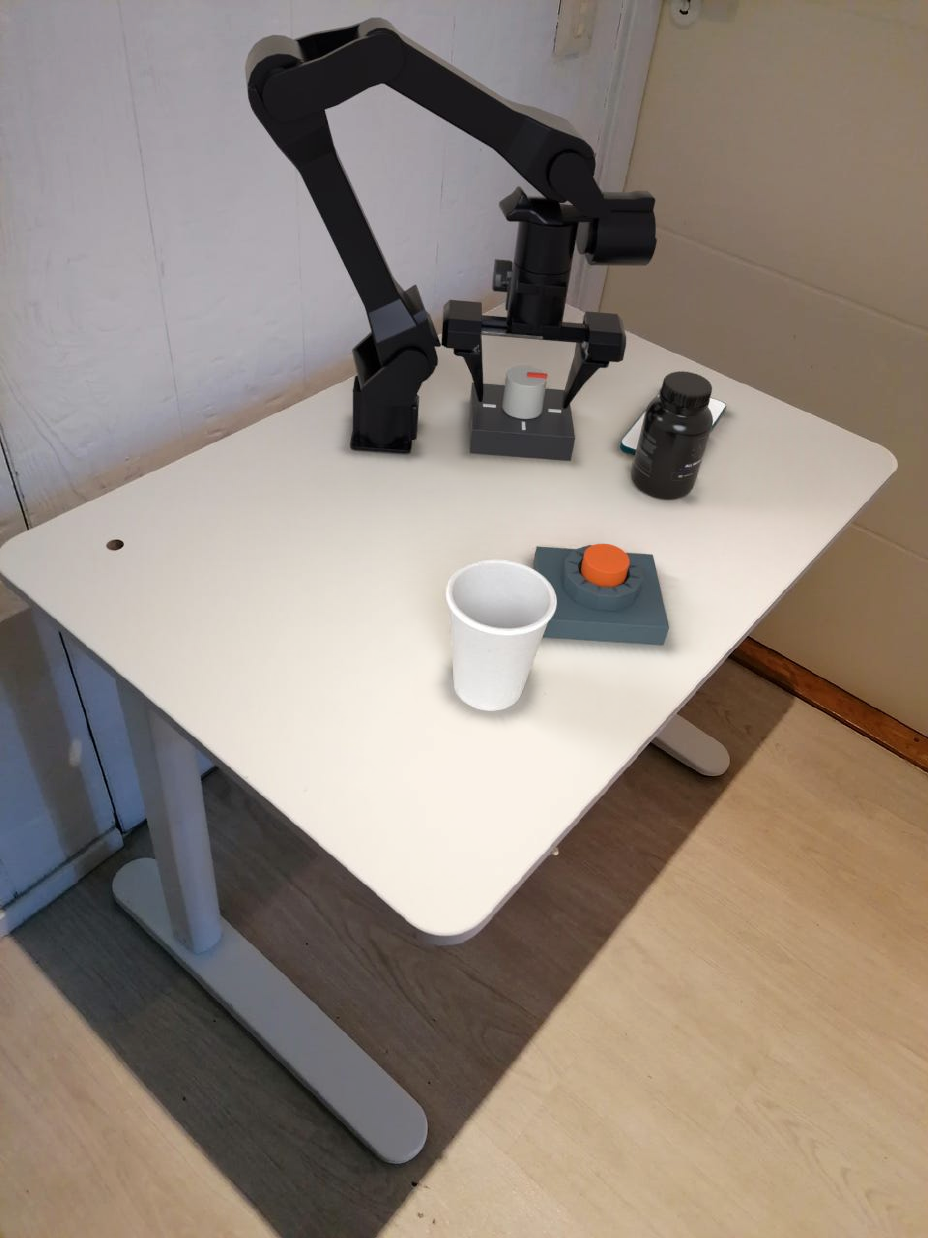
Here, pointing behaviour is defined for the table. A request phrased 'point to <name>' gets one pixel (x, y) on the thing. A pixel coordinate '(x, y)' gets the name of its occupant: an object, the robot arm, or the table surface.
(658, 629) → the button housing
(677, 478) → the supplement bottle
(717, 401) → the smartphone
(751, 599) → the table surface
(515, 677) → the dixie cup
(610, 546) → the button
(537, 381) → the timer knob
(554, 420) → the timer panel
